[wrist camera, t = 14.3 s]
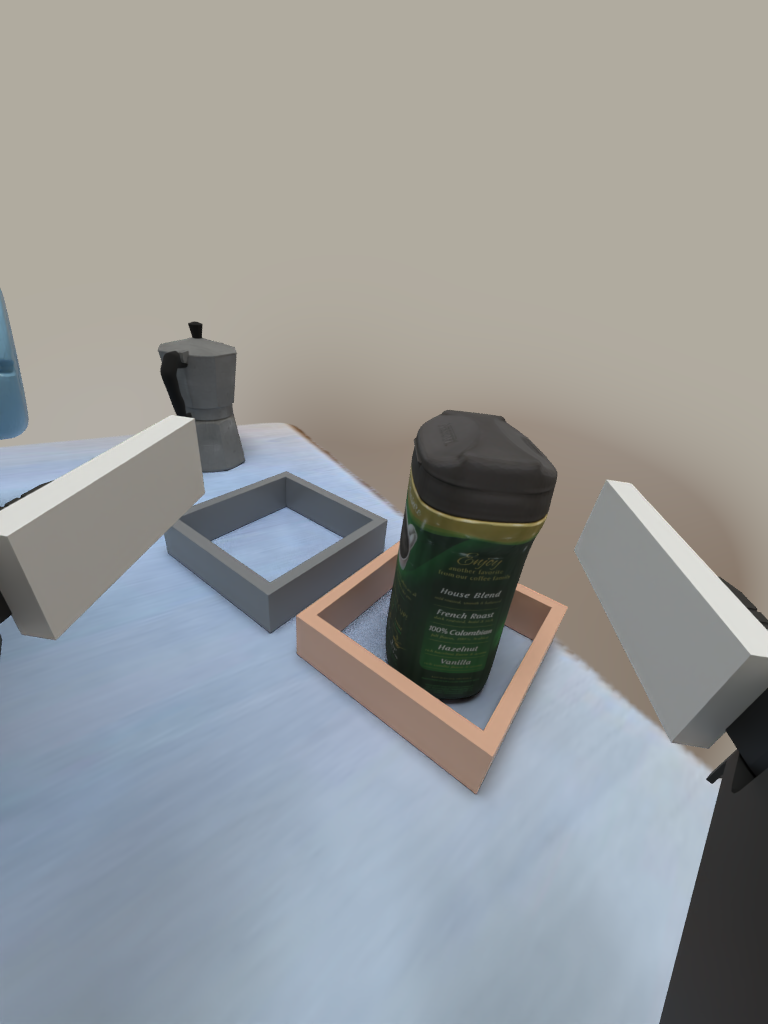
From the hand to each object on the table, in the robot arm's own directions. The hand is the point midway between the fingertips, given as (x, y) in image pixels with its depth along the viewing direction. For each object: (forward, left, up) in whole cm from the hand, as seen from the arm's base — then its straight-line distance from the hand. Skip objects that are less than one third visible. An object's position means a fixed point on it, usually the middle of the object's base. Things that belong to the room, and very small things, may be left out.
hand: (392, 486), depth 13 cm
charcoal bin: (-20, +12, -19) cm, 30 cm away
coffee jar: (-2, +12, -20) cm, 23 cm away
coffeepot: (-43, +19, -20) cm, 51 cm away
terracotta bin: (-2, +12, -19) cm, 23 cm away
